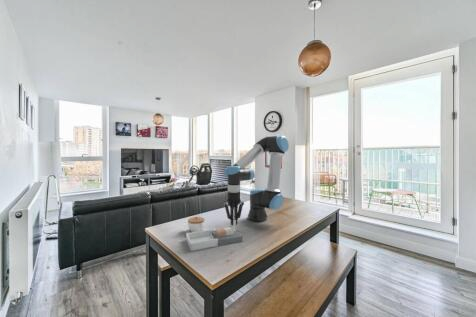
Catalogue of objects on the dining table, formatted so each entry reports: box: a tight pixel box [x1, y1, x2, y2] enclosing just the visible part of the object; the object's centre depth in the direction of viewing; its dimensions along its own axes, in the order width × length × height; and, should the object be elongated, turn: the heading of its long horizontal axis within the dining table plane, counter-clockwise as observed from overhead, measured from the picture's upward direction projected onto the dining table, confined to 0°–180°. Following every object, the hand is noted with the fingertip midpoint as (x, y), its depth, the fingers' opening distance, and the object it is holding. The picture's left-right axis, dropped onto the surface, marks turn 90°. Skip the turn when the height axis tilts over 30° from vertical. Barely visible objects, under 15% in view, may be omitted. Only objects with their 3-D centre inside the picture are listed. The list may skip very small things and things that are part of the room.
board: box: [211, 229, 244, 247], centre depth 120 cm, size 15×14×3 cm
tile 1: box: [215, 227, 226, 237], centre depth 119 cm, size 5×5×2 cm
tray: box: [185, 229, 219, 252], centre depth 114 cm, size 15×15×4 cm
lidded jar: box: [187, 216, 205, 232], centre depth 132 cm, size 11×11×9 cm
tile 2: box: [224, 226, 234, 235], centre depth 121 cm, size 5×5×2 cm
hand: (233, 229), depth 122 cm, fingers closed
